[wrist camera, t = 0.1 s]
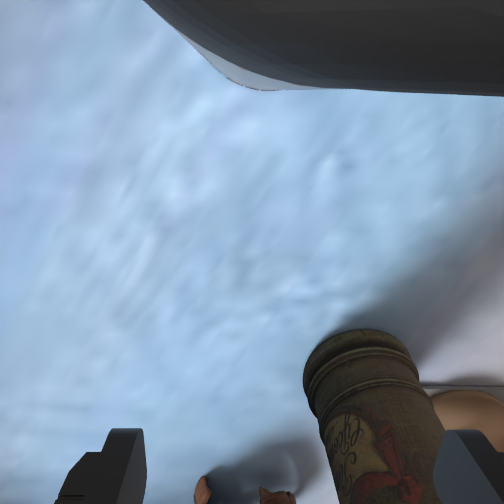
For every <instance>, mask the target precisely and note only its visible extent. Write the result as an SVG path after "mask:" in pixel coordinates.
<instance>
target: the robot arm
mask: <svg viewBox="0 0 504 504" xmlns="http://www.w3.org/2000/svg"><path fill="white" fill-rule="evenodd" d="M143 1H145V2H146V3H147V4H148V5H149V6H150V7H151V8H152V9H153V10H154V11H155V12H156V13H157V14H158V15H159V16H160V17H161V18H163V19H164V20H165V21H166V22H167V23H168V24H169V25H170V26H171V27H172V28H174V29H175V30H176V31H177V32H178V33H179V34H180V35H181V36H182V37H183V38H184V39H185V40H186V41H187V42H188V43H190V44H191V45H192V46H193V47H194V48H195V49H196V50H197V51H198V52H199V53H200V54H201V55H202V56H203V57H204V58H205V59H206V60H207V61H208V62H209V63H210V64H211V65H212V66H213V67H215V68H216V69H217V70H218V71H219V72H220V73H222V74H223V75H225V76H226V77H227V79H229V80H231V81H233V82H234V83H237V84H239V85H240V84H241V86H243V85H244V86H245V87H247V88H251V89H255V90H260V89H261V90H262V91H278V90H310V89H361V90H373V91H388V92H408V93H433V94H457V95H479V96H501V97H504V0H143ZM146 479H147V466H146V456H145V445H144V435H143V430H142V429H141V428H113V429H111V430H110V432H109V434H108V436H107V439H106V441H105V444H104V446H103V449H102V451H101V452H86V453H85V454H84V456H83V457H82V458H81V459H80V460H79V461H78V462H77V463H76V464H75V466H74V467H73V468H72V469H71V470H70V471H69V473H68V475H67V477H66V479H65V481H64V483H63V486H62V488H61V490H60V492H59V494H58V499H57V500H56V501H55V503H54V504H142V503H143V499H144V494H145V488H146ZM433 480H434V485H435V489H436V492H437V494H438V497H439V499H440V501H441V503H442V504H504V452H497V451H496V450H495V448H494V447H493V446H492V444H491V443H490V441H489V440H488V439H487V437H486V436H485V435H484V434H483V433H482V432H481V431H479V430H447V431H446V432H445V434H444V436H443V440H442V443H441V446H440V449H439V452H438V455H437V459H436V462H435V465H434V469H433Z"/></svg>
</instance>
